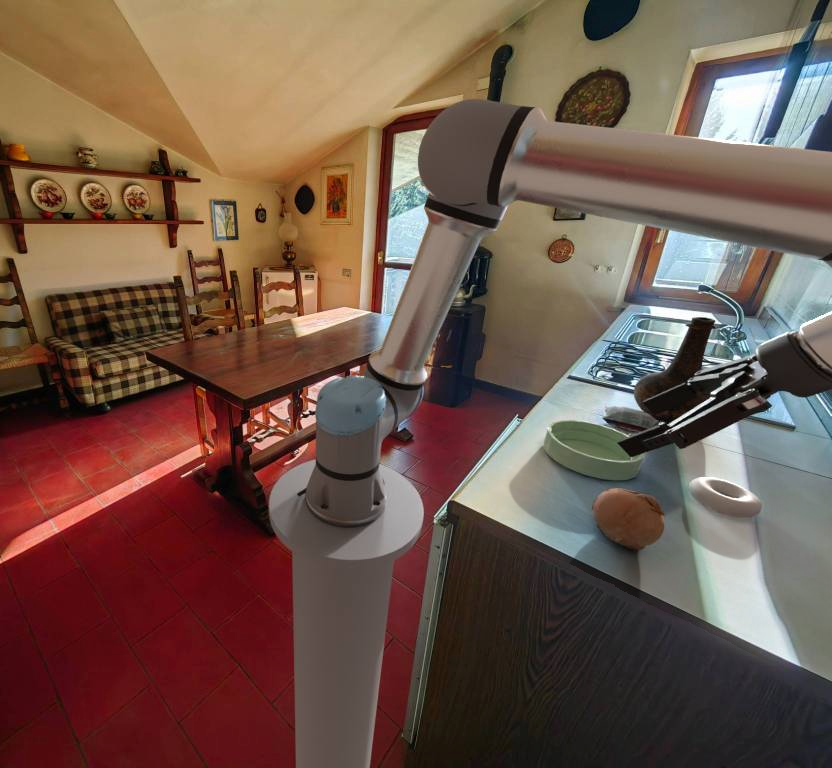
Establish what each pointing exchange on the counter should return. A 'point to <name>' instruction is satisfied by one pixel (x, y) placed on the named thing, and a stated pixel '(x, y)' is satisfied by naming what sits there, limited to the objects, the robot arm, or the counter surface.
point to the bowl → (591, 450)
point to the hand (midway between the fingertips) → (637, 427)
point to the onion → (629, 517)
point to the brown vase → (678, 371)
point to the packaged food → (629, 418)
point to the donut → (725, 497)
